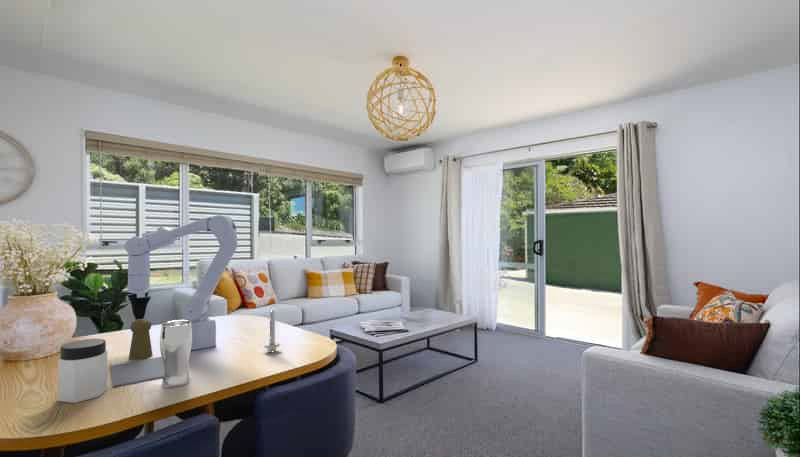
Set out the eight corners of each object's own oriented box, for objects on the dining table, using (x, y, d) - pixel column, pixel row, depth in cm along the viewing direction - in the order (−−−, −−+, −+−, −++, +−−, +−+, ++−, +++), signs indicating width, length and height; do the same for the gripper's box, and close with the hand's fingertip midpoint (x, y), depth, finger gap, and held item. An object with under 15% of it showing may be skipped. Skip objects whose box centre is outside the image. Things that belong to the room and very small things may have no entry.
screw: (261, 353, 119) (267, 349, 124) (276, 354, 119) (282, 349, 124) (261, 311, 119) (267, 308, 124) (277, 312, 119) (282, 308, 124)
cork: (140, 360, 112) (140, 323, 112) (123, 359, 113) (123, 322, 113) (157, 354, 118) (157, 318, 118) (140, 352, 119) (141, 317, 119)
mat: (172, 356, 117) (172, 354, 117) (182, 373, 102) (182, 372, 102) (110, 366, 107) (110, 365, 107) (112, 387, 93) (112, 386, 93)
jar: (102, 384, 95) (102, 336, 95) (111, 393, 90) (112, 342, 90) (54, 396, 88) (54, 344, 88) (61, 407, 83) (61, 351, 83)
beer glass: (168, 391, 91) (169, 327, 92) (153, 384, 95) (154, 324, 95) (197, 381, 97) (197, 322, 97) (182, 375, 101) (182, 318, 101)
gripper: (122, 273, 125) (121, 314, 125) (125, 277, 114) (124, 323, 114) (147, 271, 130) (147, 312, 130) (153, 276, 118) (152, 320, 118)
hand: (138, 317), depth 122 cm, fingers open, 5 cm apart
